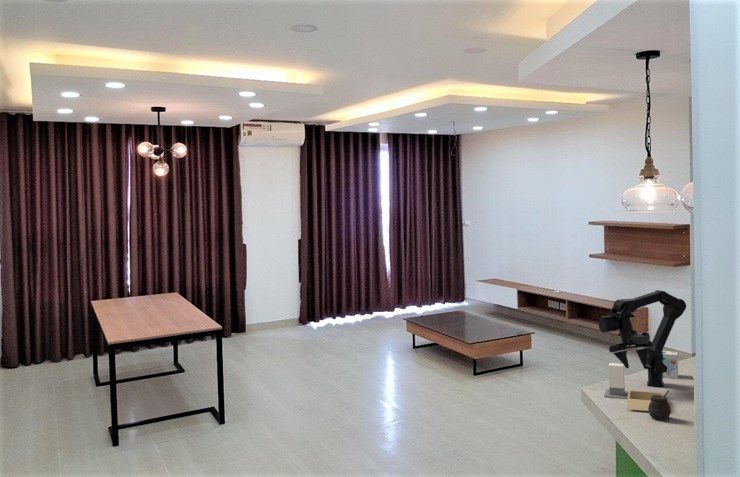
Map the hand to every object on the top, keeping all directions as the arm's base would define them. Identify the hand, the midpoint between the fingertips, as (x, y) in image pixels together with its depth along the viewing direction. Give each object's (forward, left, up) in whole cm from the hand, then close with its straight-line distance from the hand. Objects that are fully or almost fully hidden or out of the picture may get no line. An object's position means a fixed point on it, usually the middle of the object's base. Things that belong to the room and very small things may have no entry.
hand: (636, 367), depth 252 cm
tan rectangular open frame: (+18, +4, -10) cm, 21 cm away
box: (+7, -7, -10) cm, 14 cm away
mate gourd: (+33, +9, -11) cm, 36 cm away
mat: (+7, -7, -10) cm, 14 cm away
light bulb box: (-30, +10, -11) cm, 33 cm away
